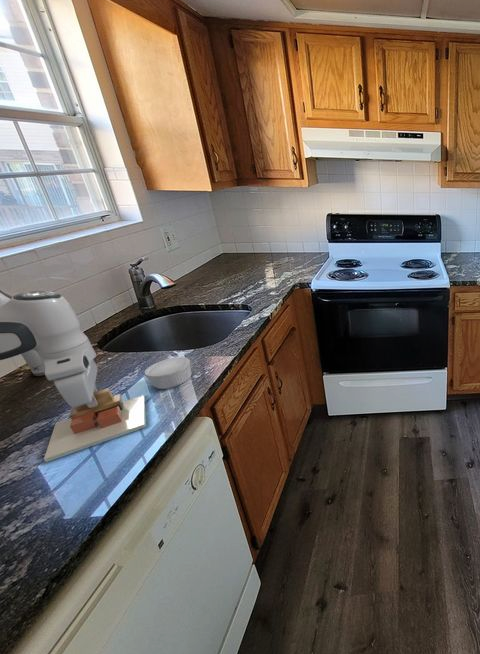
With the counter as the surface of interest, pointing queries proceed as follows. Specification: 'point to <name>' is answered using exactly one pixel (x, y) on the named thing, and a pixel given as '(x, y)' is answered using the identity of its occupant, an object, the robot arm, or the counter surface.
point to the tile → (95, 431)
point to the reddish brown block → (83, 422)
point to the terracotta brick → (109, 417)
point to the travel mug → (34, 362)
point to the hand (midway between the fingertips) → (94, 402)
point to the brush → (99, 403)
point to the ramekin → (169, 372)
